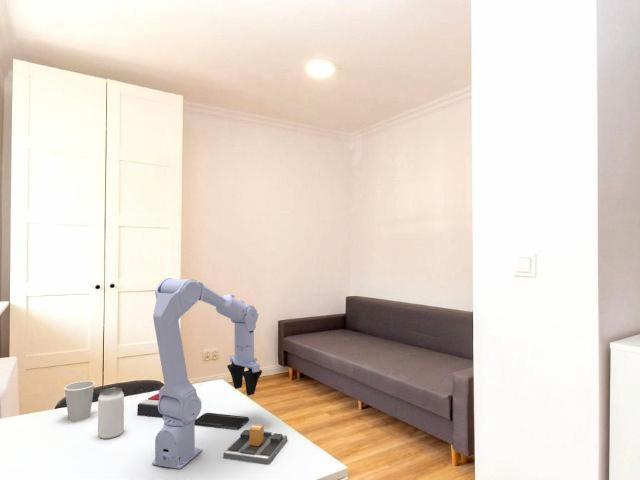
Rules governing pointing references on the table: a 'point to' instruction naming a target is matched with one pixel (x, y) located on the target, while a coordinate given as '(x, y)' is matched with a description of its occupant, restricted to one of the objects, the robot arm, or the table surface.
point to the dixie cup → (79, 400)
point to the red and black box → (149, 407)
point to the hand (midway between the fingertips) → (244, 391)
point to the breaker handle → (256, 434)
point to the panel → (255, 448)
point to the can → (110, 413)
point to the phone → (221, 421)
